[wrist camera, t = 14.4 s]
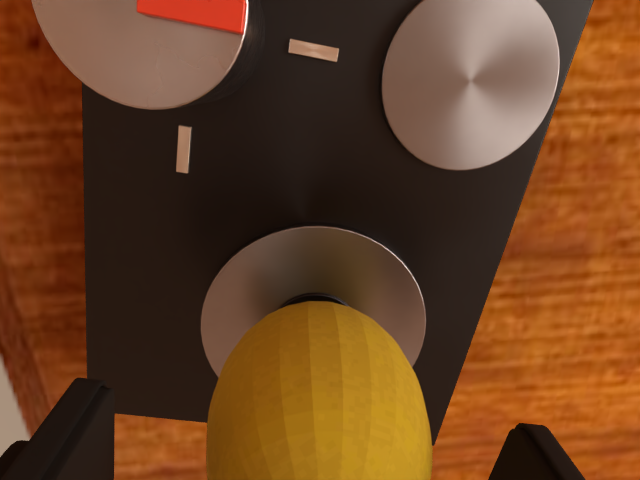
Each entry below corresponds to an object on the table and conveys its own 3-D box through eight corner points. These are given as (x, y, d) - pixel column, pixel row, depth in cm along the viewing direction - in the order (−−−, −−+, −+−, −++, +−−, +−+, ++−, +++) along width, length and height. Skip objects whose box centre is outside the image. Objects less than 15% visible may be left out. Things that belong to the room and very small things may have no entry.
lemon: (314, 226, 13) (333, 413, 6) (422, 330, 15) (551, 585, 7) (199, 333, 14) (90, 605, 7) (311, 419, 16) (323, 718, 8)
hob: (93, 359, 19) (54, 411, 16) (88, -138, 12) (22, -208, 9) (415, 396, 20) (435, 449, 17) (551, -28, 14) (619, -59, 11)
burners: (194, 401, 16) (191, 411, 15) (239, -77, 11) (236, -84, 10) (431, 427, 17) (435, 436, 16) (580, 2, 12) (591, -2, 11)
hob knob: (116, 88, 12) (22, 90, 8) (118, -77, 10) (5, -178, 6) (255, 113, 12) (234, 127, 8) (274, -42, 11) (260, -116, 7)
